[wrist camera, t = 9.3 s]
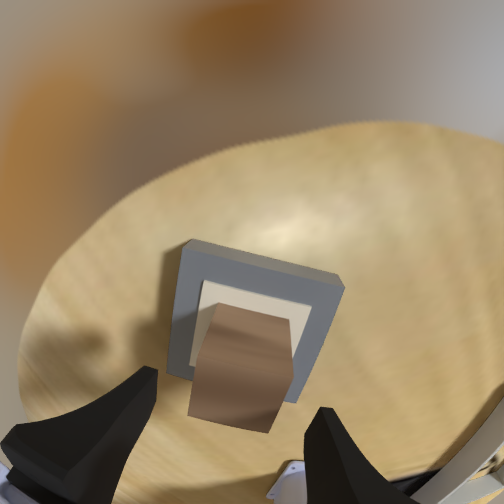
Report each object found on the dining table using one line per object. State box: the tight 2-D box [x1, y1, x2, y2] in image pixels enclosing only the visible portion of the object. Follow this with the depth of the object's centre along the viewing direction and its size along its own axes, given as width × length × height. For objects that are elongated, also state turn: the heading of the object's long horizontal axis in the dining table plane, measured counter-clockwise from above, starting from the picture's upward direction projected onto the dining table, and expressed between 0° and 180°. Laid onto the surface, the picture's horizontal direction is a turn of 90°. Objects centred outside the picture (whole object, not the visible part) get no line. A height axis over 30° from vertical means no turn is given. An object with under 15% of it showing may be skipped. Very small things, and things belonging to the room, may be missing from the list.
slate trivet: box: [166, 239, 345, 403], centre depth 18 cm, size 9×9×2 cm
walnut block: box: [187, 302, 294, 433], centre depth 14 cm, size 4×4×5 cm
